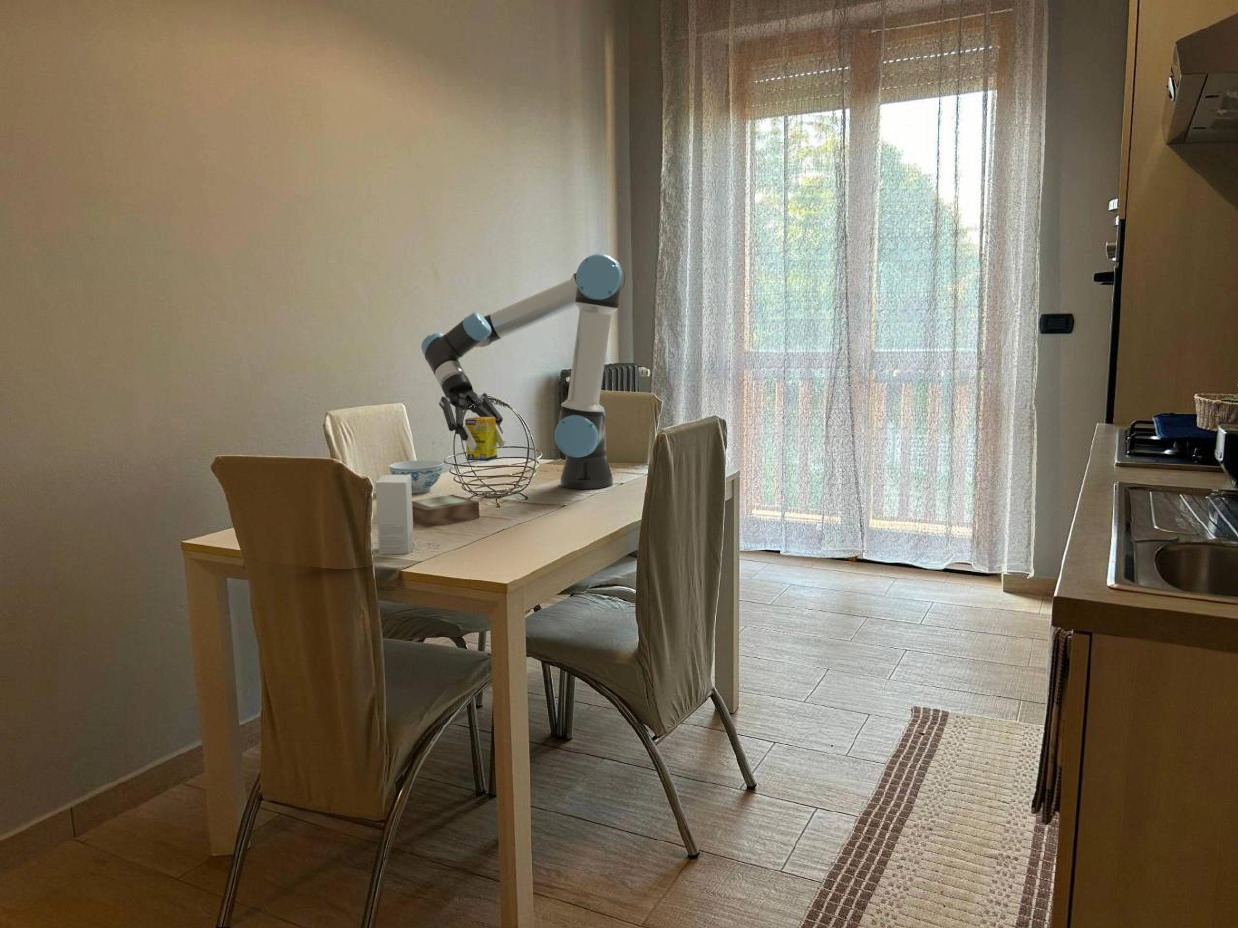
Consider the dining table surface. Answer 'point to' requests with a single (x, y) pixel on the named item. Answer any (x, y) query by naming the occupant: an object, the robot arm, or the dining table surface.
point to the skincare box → (394, 514)
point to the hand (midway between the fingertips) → (488, 446)
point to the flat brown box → (444, 510)
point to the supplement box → (482, 438)
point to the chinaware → (419, 473)
